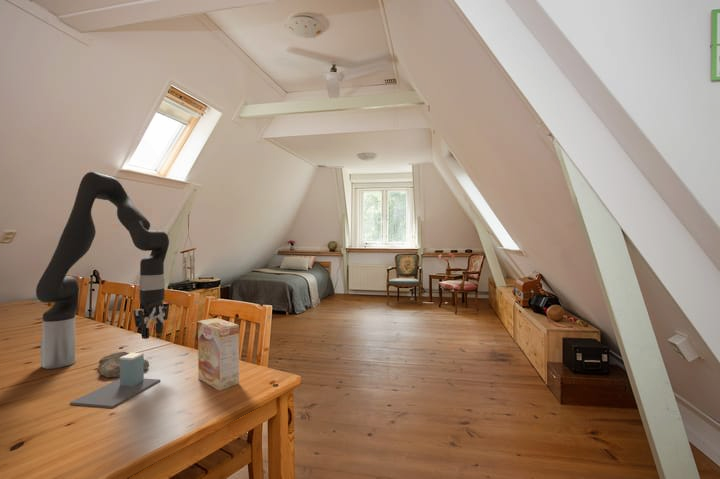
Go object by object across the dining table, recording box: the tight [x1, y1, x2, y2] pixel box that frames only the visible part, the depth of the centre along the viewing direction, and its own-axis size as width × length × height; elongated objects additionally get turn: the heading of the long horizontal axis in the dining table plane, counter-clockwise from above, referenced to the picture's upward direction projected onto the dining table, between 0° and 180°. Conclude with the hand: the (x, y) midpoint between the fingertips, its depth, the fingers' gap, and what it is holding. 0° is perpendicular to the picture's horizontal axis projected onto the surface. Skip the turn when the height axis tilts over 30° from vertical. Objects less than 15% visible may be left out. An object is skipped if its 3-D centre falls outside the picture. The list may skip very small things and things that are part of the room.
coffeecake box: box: [197, 317, 240, 392], centre depth 113 cm, size 15×7×20 cm, turn 49°
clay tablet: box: [97, 351, 150, 378], centre depth 125 cm, size 14×5×20 cm
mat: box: [69, 378, 161, 409], centre depth 105 cm, size 14×18×1 cm
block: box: [119, 352, 145, 387], centre depth 110 cm, size 4×4×9 cm
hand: (152, 335), depth 119 cm, fingers open, 5 cm apart
